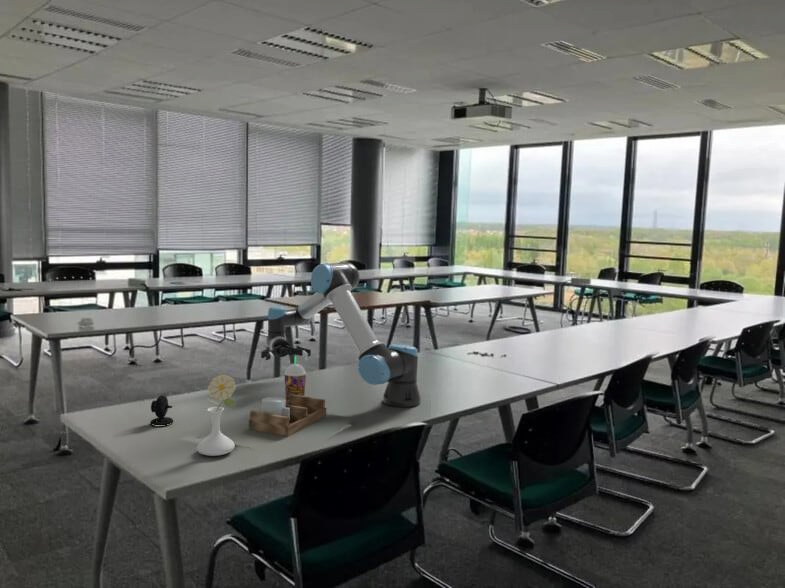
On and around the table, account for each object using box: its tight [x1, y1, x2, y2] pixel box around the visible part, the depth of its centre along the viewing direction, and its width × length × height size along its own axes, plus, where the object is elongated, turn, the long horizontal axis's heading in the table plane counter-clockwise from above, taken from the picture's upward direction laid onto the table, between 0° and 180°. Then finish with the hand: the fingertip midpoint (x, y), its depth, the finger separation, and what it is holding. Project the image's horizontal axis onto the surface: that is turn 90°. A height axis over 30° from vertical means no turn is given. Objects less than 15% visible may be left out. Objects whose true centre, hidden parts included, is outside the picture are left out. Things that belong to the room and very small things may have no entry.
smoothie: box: [283, 355, 307, 403], centre depth 239 cm, size 8×8×20 cm
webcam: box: [150, 395, 174, 425], centre depth 217 cm, size 8×8×10 cm
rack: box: [248, 394, 327, 437], centre depth 218 cm, size 16×24×8 cm, turn 155°
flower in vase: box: [196, 374, 237, 457], centre depth 191 cm, size 13×11×25 cm
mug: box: [261, 396, 290, 421], centre depth 213 cm, size 10×8×9 cm
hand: (290, 358), depth 247 cm, fingers open, 13 cm apart
